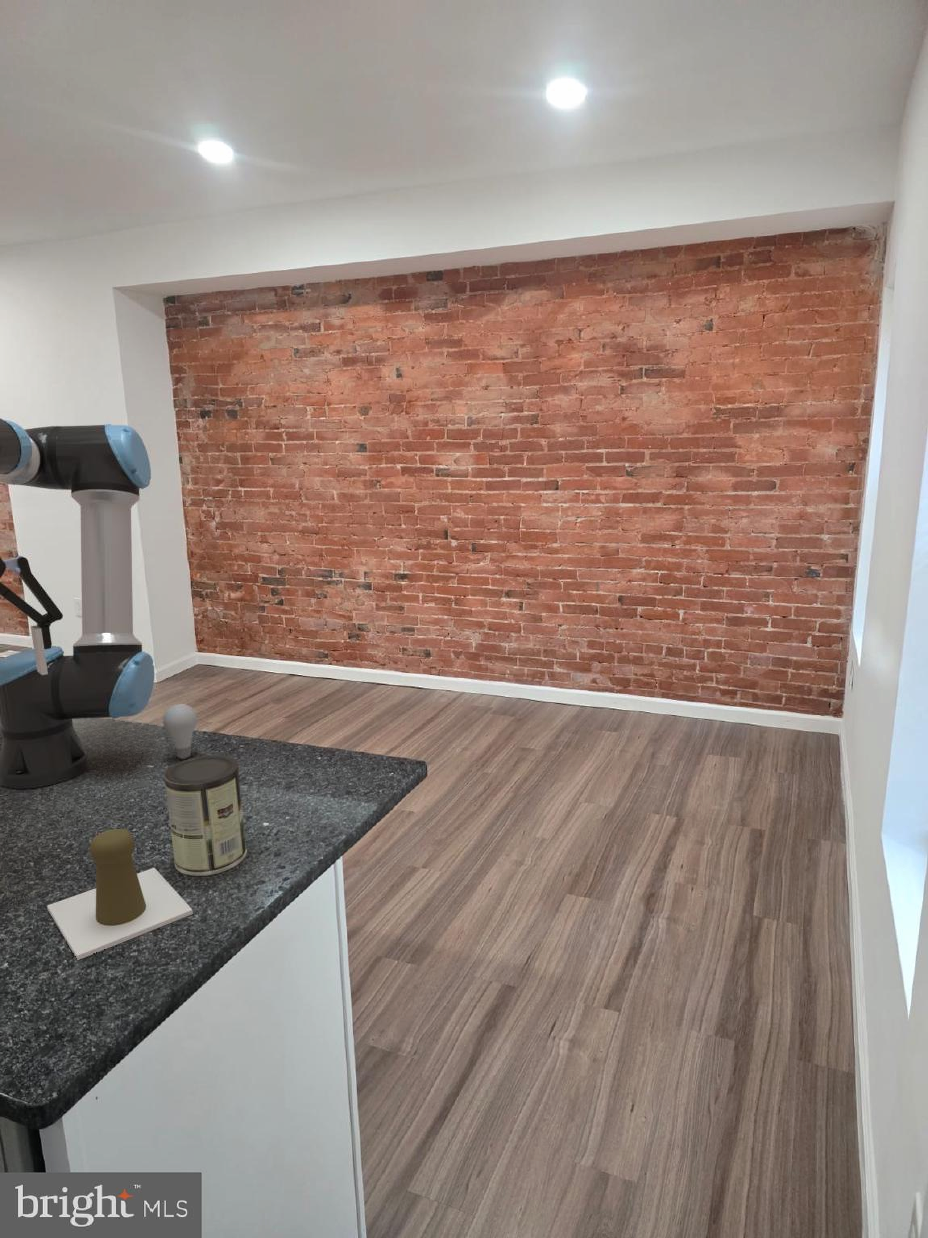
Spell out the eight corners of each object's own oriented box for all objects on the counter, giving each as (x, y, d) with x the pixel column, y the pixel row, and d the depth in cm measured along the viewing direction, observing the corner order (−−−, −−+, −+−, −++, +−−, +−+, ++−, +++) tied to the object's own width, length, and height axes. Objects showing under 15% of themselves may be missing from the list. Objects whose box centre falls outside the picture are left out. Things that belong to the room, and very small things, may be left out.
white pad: (47, 909, 105) (47, 905, 105) (154, 871, 113) (154, 867, 113) (77, 960, 94) (76, 956, 94) (192, 914, 103) (192, 909, 103)
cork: (127, 928, 99) (116, 848, 97) (85, 923, 101) (73, 844, 98) (155, 901, 105) (146, 824, 103) (115, 896, 106) (104, 821, 104)
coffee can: (197, 838, 123) (187, 752, 120) (258, 843, 121) (251, 756, 118) (159, 873, 113) (147, 781, 110) (225, 880, 111) (216, 786, 108)
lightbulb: (161, 760, 153) (154, 706, 151) (187, 750, 158) (182, 697, 155) (180, 767, 150) (174, 712, 147) (207, 756, 155) (202, 703, 152)
